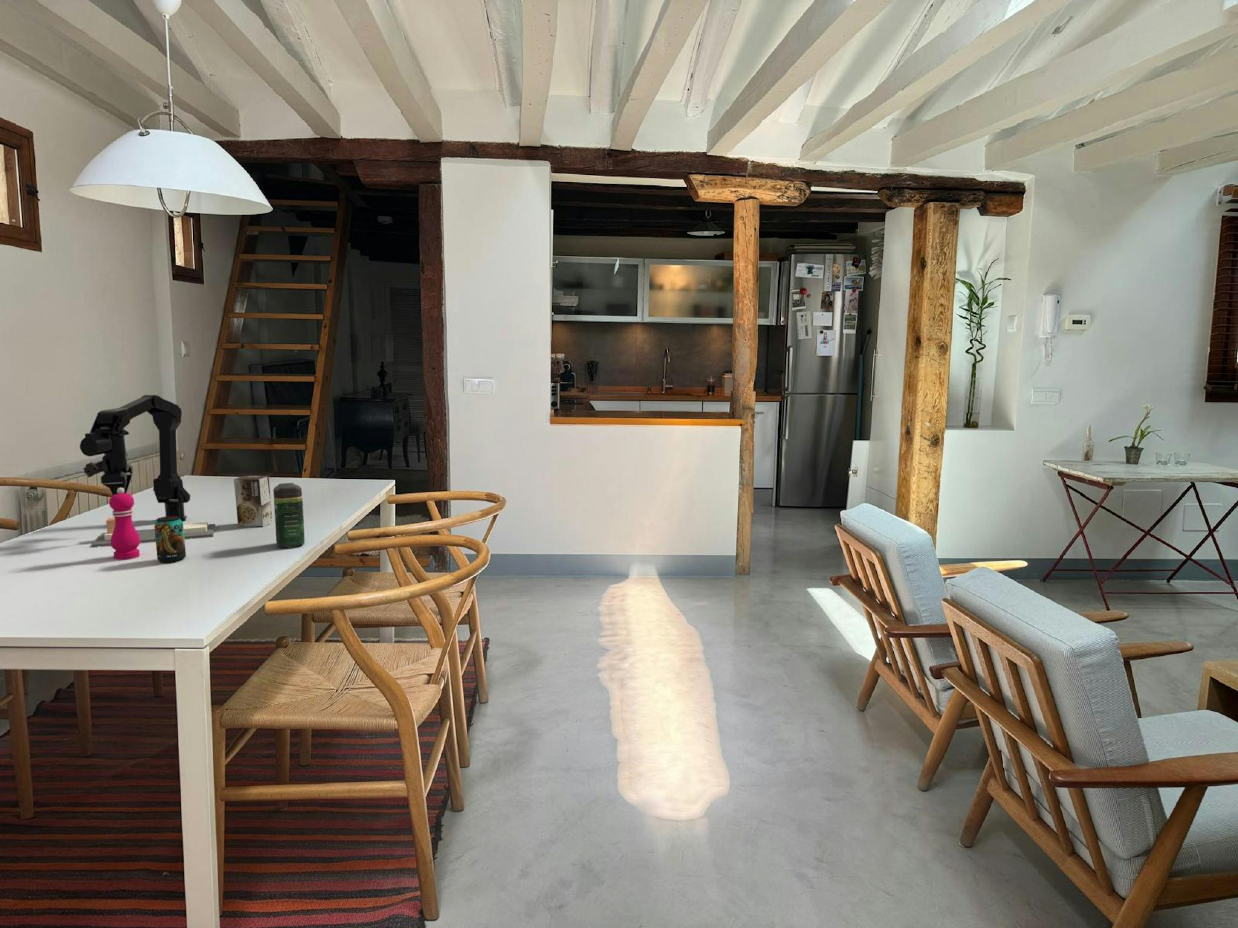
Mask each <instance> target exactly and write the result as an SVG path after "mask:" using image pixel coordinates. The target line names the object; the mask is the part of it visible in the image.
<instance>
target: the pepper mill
mask: <svg viewBox="0 0 1238 928" xmlns="http://www.w3.org/2000/svg"><path fill="white" fill-rule="evenodd" d="M117 492H118V493H117V494H115V495H112V496H111V497H110V499H109V501H108V505H109V507H110V508H111V509H112V510H113V511H111V513H112V517H113V518H115V528H114V531H113V534H112V537H111V546H110V547H111V548H112V549H113V550H115V551H114V552H113V559H114V560H118V561H122V560H123V561H124V560H131V559H132V558H133V559H135V558H138V557H140V556H141V555H140V554H141V553H140V549H139V548H138V547H139V546H140V544H141V543H140V537H139V534H138V533H137V531H136V530H137V529H136V527H135V526H134V522H133V515H134V509H133V507H134V505H135V500H134V497H133V496H132V495H131V493H124V489H123V488H118V489H117ZM133 559H132V560H133Z"/></svg>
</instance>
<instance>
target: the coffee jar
mask: <svg viewBox="0 0 1238 928" xmlns="http://www.w3.org/2000/svg"><path fill="white" fill-rule="evenodd" d="M302 491H303V490H302V487H301V486H299V485H298V484H296V483H294V482H284V483H279V484H277V485H275V486H274V488H273V490H272V492H273V504H274V505H273V506H274V523H275V524H274V525H275V526H274V527H275V538H276V539H275V540H276V545H277V546H278V548H288V549H291V548H296V547H299V546H300V545H301V546H303V545H304V544H305V539H306V538H305V525H304V524H305V522H304V521H305V520H304V501H303V492H302Z"/></svg>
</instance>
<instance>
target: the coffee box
mask: <svg viewBox="0 0 1238 928" xmlns="http://www.w3.org/2000/svg"><path fill="white" fill-rule="evenodd" d="M233 483H234V495H235V507H236V519H237V527H257V526H263V527H266V526H268V525H271V524H273V515H272V512H273V511H272V500H271V498H272V497H271V488H270V487H271V486H270V476H269V475H242V476H239V477H236V478H234V479H233Z"/></svg>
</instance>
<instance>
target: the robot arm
mask: <svg viewBox="0 0 1238 928" xmlns="http://www.w3.org/2000/svg"><path fill="white" fill-rule="evenodd" d="M144 413H148V414H149V415H151V416H152V421H153V424H154V425H155V427H156V429H158V438H159V439H158V442H159V443H158V444H159V445H158V447H159V448H158V449H159V475H158V476H157V478H154V479H153V481H152V483H153V484H152V485H153V488H152V491H153V492H154V495H155V498H156V501H157V503H158V504H164V510H165V511H164V513H165V517H167V516H179V517H180V520H181V521H182V522H183V521H186V520H187V517H188V516H187V515H185V504H186V503H188V502H190V501H191V494H190V493H189V492H188V491H187V490H186V489H185V488H184V483H183V480H182V478H181V476H180V475H179V473H178V466H177V464H178V463H177V462H178V461H177V460H178V458H177V429H178V427H180V425H181V423H182V414H183V411H182V408H181V407H180V406H179V405H178V404H176V403H174V402H172V401H169V400H167V399H164V398H162V397H161V396H159V395H156V394H143V395H142V396H141V397H139V398H137V399H135V400H133V401H131V402H129V403H126V404H124V405H122V406H120V407H115V408H110V409H103V410H100V411H99V412H97V414H96V417H95V420H94V422H93V424H92V425H91V426H92V427H91V429H90V432H87V433H84V438H82V440H81V442H80V444H79V449H80V451H81V453H82V454H83V455H84V456H86V457H94V456H99V455H103V456H102V458H101V460H99V461H96V462H92V461H91V462H89V463H86V464H85V466H84V467H83V468H82V470H83V473H84V474H86V476H87V478H92V477H93V476H95V475H98V474H100V473H102V472H103V474H102V476H101V477H100V483H101V484H102V485H103V486H105V487H106V488H108V489H109V490H110V492H111V494H112V496H113V495H115V494H117V493H118V492H117V489H118V488H123V489H124V493H127V492H128V490H129V486H130V485H131V484H130V483H131V482H132V478H133V476H134V466H133V465H131V464H129V463H128V459H127V457H128V452H127V449H126V441H125V440H126V439H125V436H127V435H130V432H128V431H127V430H126V429H125V428H126V427H128V425H130V423H131V420H132V419H134V418H136V417H138V416H140V415H142V414H144Z"/></svg>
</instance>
